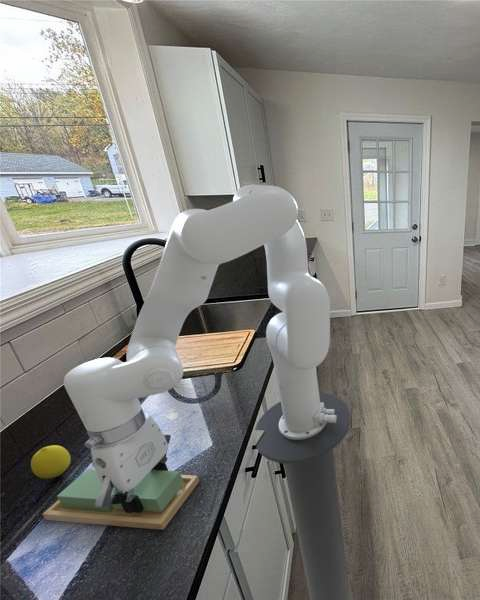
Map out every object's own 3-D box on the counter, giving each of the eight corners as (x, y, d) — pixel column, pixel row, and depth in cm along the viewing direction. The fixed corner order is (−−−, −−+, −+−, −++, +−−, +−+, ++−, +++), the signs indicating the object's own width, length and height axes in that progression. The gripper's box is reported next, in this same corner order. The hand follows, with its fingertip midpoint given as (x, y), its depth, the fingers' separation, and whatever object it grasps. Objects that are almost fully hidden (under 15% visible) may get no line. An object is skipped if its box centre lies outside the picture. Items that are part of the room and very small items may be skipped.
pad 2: (184, 483, 65) (179, 471, 64) (161, 512, 60) (156, 499, 58) (139, 480, 66) (134, 468, 65) (113, 508, 60) (106, 496, 59)
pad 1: (137, 484, 66) (131, 472, 65) (110, 512, 61) (104, 499, 59) (93, 480, 67) (87, 469, 66) (63, 508, 61) (56, 496, 60)
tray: (199, 481, 67) (197, 475, 67) (163, 530, 58) (160, 524, 57) (96, 473, 69) (94, 468, 69) (45, 519, 60) (42, 514, 59)
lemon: (82, 462, 72) (69, 436, 69) (63, 484, 67) (47, 456, 64) (55, 466, 71) (39, 439, 68) (32, 488, 66) (15, 460, 63)
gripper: (89, 467, 48) (129, 542, 54) (174, 393, 64) (196, 458, 70) (44, 464, 48) (89, 539, 55) (139, 392, 64) (165, 456, 71)
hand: (149, 493), depth 63 cm, fingers closed on pad 2, 6 cm apart
